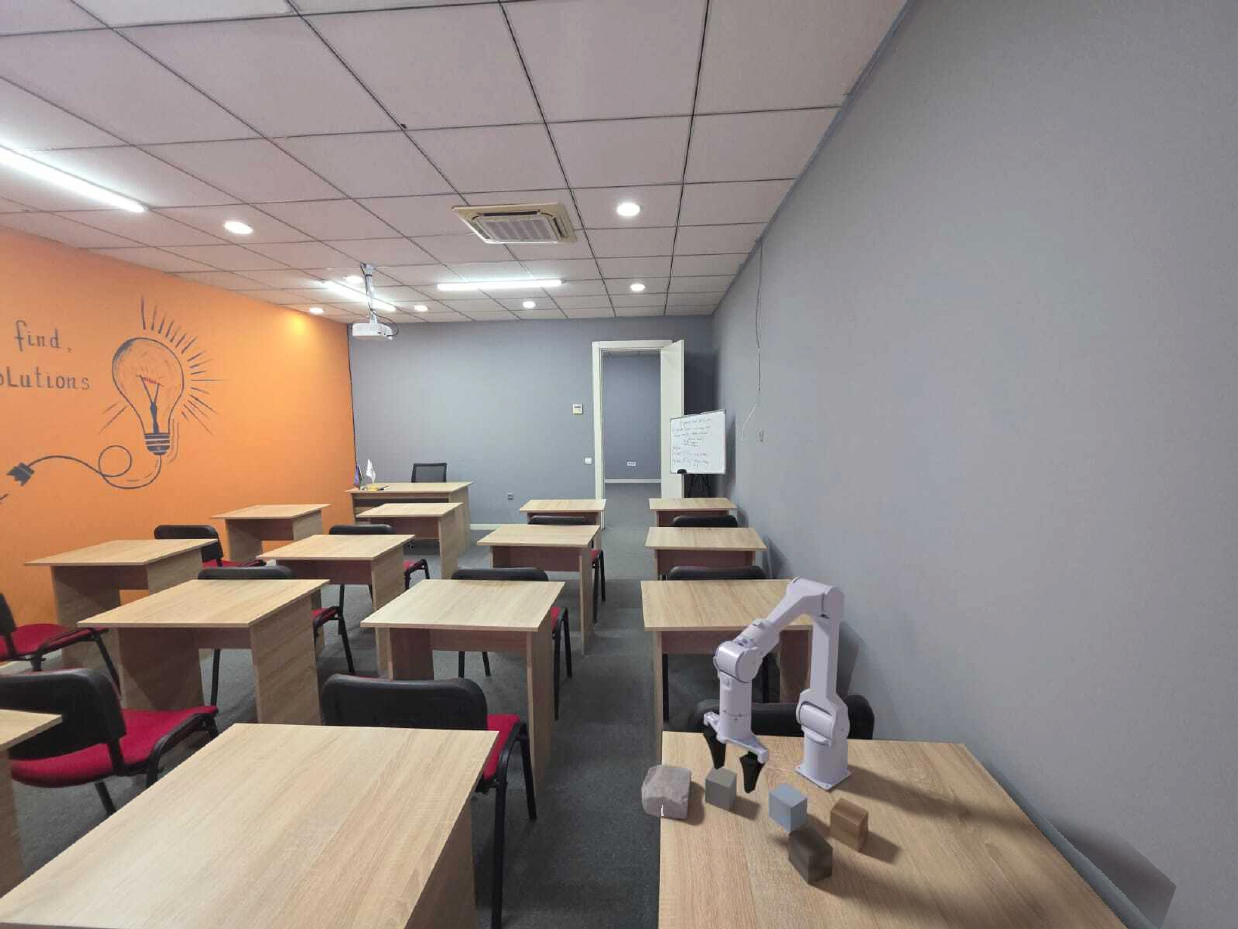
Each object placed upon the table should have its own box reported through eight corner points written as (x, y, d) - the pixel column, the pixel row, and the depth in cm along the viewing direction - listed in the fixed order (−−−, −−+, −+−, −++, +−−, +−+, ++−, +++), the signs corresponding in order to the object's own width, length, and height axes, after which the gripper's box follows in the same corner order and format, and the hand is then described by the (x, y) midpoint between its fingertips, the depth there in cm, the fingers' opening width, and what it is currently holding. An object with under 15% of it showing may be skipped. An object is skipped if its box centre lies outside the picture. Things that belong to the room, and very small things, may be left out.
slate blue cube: (784, 806, 98) (785, 782, 98) (806, 822, 94) (807, 797, 94) (768, 816, 95) (769, 792, 95) (790, 833, 91) (791, 808, 91)
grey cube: (713, 787, 103) (713, 764, 103) (736, 796, 101) (736, 773, 100) (704, 802, 99) (705, 778, 99) (728, 812, 96) (729, 788, 96)
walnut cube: (840, 822, 94) (841, 797, 94) (867, 837, 91) (868, 811, 90) (829, 836, 91) (830, 810, 90) (857, 852, 87) (858, 826, 87)
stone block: (641, 824, 96) (691, 822, 94) (636, 799, 96) (686, 797, 94) (649, 784, 107) (694, 782, 105) (645, 763, 107) (690, 760, 105)
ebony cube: (811, 852, 87) (812, 825, 87) (832, 876, 82) (832, 847, 82) (788, 860, 85) (788, 833, 85) (807, 884, 81) (808, 856, 80)
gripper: (692, 697, 95) (691, 764, 95) (751, 734, 82) (749, 811, 83) (718, 687, 98) (717, 752, 99) (778, 721, 86) (776, 795, 87)
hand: (734, 778), depth 91 cm, fingers open, 7 cm apart
